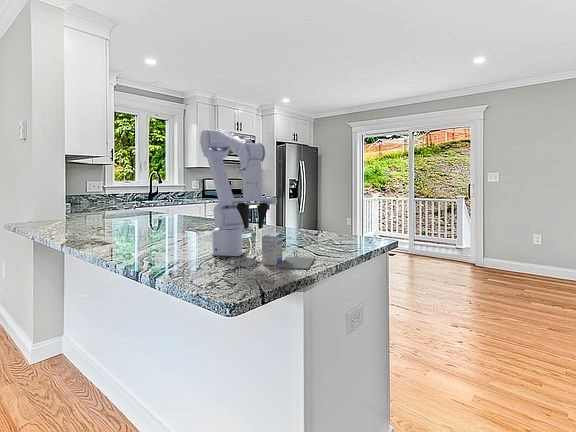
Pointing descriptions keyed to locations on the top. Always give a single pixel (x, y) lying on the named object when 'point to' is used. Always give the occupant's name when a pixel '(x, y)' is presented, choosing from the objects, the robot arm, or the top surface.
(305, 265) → the slate mat
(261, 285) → the top surface
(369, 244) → the top surface
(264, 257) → the medicine box
